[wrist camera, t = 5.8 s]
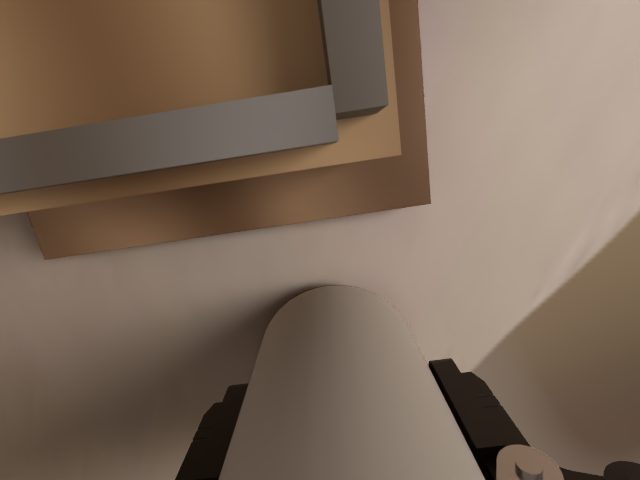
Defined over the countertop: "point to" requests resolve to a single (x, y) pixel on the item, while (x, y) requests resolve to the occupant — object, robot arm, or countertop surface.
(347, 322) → the beverage can
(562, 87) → the countertop surface
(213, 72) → the plinth
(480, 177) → the countertop surface
